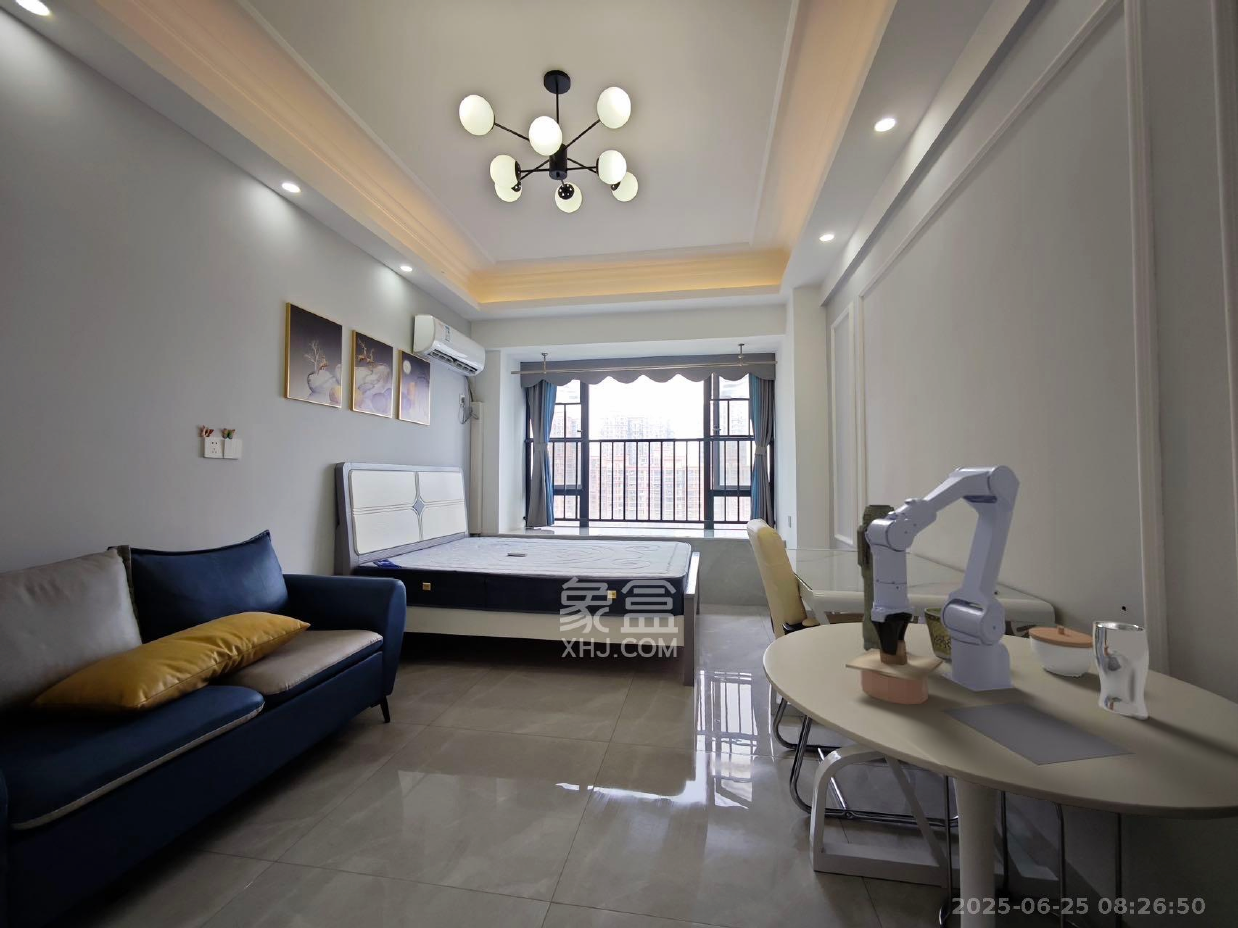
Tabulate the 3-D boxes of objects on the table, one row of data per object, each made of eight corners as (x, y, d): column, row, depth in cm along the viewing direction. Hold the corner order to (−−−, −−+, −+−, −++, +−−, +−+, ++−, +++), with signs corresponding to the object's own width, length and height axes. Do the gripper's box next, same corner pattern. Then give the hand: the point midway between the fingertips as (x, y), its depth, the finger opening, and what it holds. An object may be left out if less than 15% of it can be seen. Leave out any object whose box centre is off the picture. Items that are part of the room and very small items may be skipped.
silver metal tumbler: (1142, 725, 81) (1138, 633, 82) (1087, 708, 87) (1084, 623, 88) (1158, 715, 85) (1154, 627, 85) (1104, 699, 91) (1100, 618, 91)
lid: (943, 662, 94) (940, 638, 94) (921, 681, 85) (918, 654, 85) (871, 651, 103) (869, 628, 104) (846, 667, 94) (843, 642, 95)
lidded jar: (1112, 682, 98) (1110, 635, 99) (1053, 680, 100) (1051, 633, 100) (1071, 663, 109) (1070, 620, 109) (1018, 660, 110) (1016, 619, 111)
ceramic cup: (958, 666, 108) (957, 620, 108) (915, 651, 117) (914, 609, 117) (994, 657, 113) (993, 613, 113) (950, 644, 122) (949, 603, 122)
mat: (1022, 704, 89) (1022, 701, 89) (1134, 755, 72) (1134, 752, 72) (940, 712, 86) (940, 709, 86) (1037, 768, 69) (1037, 764, 69)
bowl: (897, 679, 100) (897, 655, 101) (941, 703, 90) (940, 675, 90) (849, 683, 99) (848, 658, 99) (887, 708, 88) (887, 680, 88)
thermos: (849, 646, 120) (846, 504, 122) (886, 641, 124) (882, 503, 126) (879, 659, 112) (875, 506, 113) (917, 652, 116) (913, 505, 117)
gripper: (899, 590, 87) (902, 667, 87) (925, 578, 97) (927, 647, 96) (858, 584, 92) (860, 656, 92) (886, 573, 102) (888, 639, 102)
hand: (892, 651), depth 94 cm, fingers closed on lid, 2 cm apart
